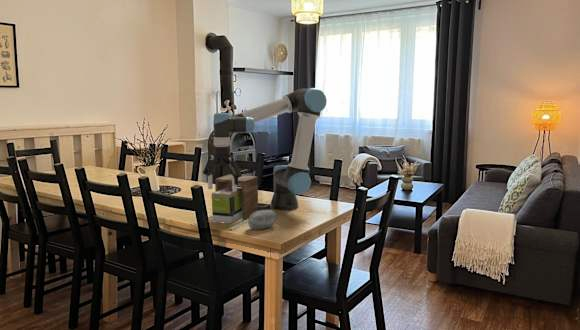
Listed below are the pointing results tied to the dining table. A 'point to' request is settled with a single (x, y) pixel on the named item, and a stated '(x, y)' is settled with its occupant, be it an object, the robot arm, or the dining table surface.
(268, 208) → the pit tray
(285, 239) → the dining table surface
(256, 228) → the gray ridged ovoid
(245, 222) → the lane
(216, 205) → the tea box
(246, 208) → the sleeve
